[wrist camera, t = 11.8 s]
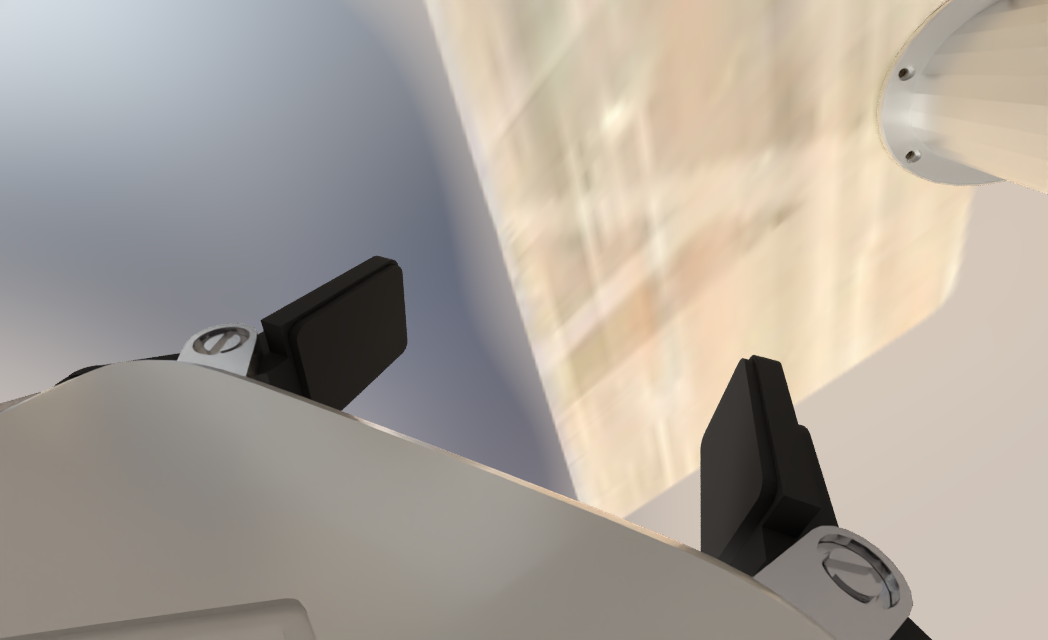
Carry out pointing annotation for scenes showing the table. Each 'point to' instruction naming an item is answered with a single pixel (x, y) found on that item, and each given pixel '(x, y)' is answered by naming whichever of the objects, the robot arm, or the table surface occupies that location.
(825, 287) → the table surface
